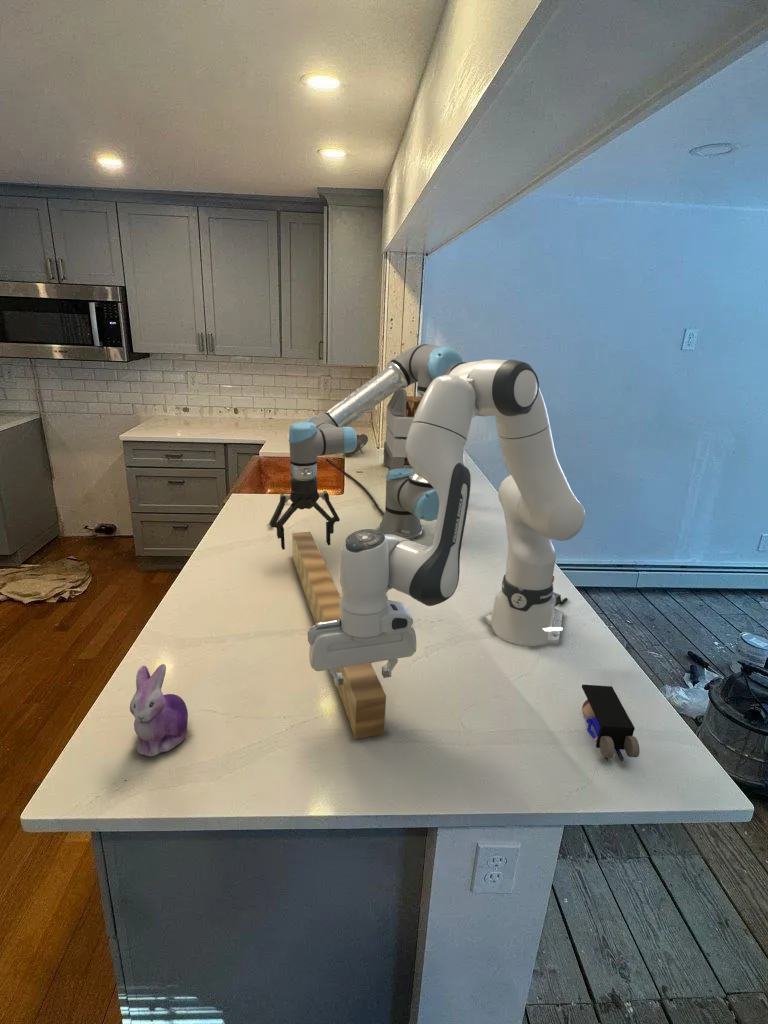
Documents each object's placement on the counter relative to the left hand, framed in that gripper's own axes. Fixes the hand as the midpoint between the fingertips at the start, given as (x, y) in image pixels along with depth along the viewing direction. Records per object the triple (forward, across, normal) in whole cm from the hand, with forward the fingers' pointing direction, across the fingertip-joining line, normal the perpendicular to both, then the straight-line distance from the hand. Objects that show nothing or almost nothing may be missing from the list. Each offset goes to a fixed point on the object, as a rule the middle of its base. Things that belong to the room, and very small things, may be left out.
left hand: (305, 545), depth 169 cm
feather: (+7, -3, +45) cm, 46 cm away
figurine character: (+8, +42, -86) cm, 96 cm away
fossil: (+9, +49, +135) cm, 144 cm away
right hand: (-1, 0, -67) cm, 67 cm away
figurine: (+6, -37, -66) cm, 76 cm away
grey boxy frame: (+9, +70, +93) cm, 117 cm away
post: (+7, 0, -34) cm, 34 cm away
